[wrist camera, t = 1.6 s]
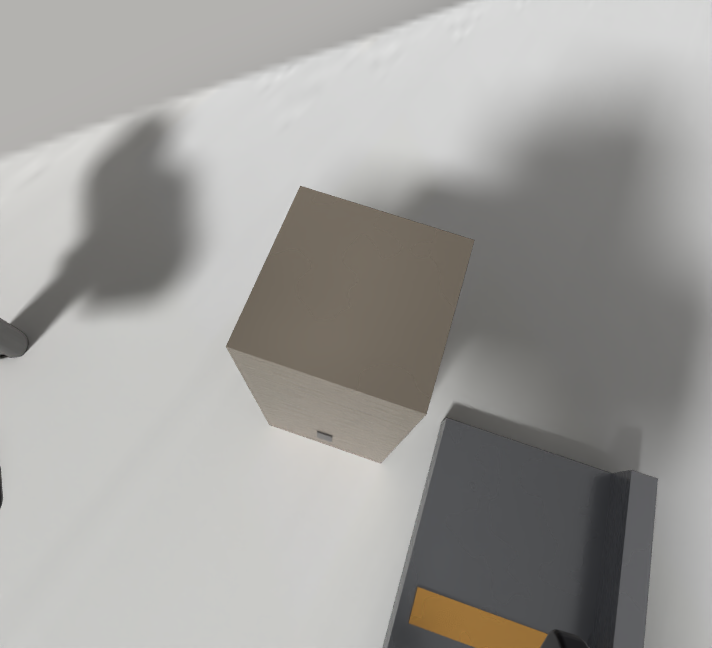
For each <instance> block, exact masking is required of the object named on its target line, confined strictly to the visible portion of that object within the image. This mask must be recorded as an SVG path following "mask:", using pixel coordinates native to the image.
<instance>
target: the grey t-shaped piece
mask: <svg viewBox="0 0 712 648" xmlns="http://www.w3.org/2000/svg"><path fill="white" fill-rule="evenodd" d="M27 345H28V339H27V337H26V335H25V334H24V333H23V332H22V331H20V330H18V329H17V328H15V327H14V326H12V325H11V324H9V323H7V322H6V321H4V320H3V319H1V318H0V355H1V354H4V355H6V356H8V357H10V358H14V357H19V356H22V355H23V354H24V352H25V351H26V349H27Z"/></svg>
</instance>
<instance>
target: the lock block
mask: <svg viewBox="0 0 712 648" xmlns="http://www.w3.org/2000/svg"><path fill="white" fill-rule="evenodd" d="M473 243H474V240H472V239H469V238H466V237H463V236H460V235H456V234H453V233H450V232H447V231H444V230H440V229H437V228H434V227H431V226H428V225H424V224H421V223H418V222H415V221H411V220H408V219H405V218H402V217H399V216H395V215H392V214H389V213H386V212H383V211H379V210H376V209H373V208H370V207H367V206H363V205H360V204H357V203H354V202H350V201H347V200H344V199H341V198H338V197H334V196H331V195H328V194H325V193H322V192H318V191H315V190H312V189H309V188H306V187H302V186H300V188H299V190H298V192H297V194H296V196H295V199H294V201H293V203H292V205H291V207H290V209H289V211H288V214H287V216H286V218H285V220H284V222H283V224H282V227H281V229H280V231H279V233H278V235H277V237H276V240H275V242H274V244H273V246H272V248H271V250H270V253H269V255H268V257H267V259H266V261H265V263H264V265H263V268H262V270H261V272H260V274H259V276H258V278H257V281H256V283H255V285H254V287H253V289H252V291H251V294H250V296H249V298H248V300H247V302H246V304H245V306H244V309H243V311H242V313H241V315H240V317H239V319H238V322H237V324H236V326H235V328H234V330H233V332H232V335H231V337H230V339H229V341H228V343H227V345H226V348H227V349H228V351H229V353H230V355H231V357H232V358H233V360H234V362H235V364H236V366H237V367H238V369H239V371H240V373H241V375H242V376H243V378H244V380H245V382H246V384H247V385H248V387H249V389H250V391H251V393H252V394H253V396H254V398H255V400H256V402H257V403H258V405H259V407H260V409H261V411H262V412H263V414H264V416H265V418H266V420H267V421H268V423H269V425H272V426H274V427H277V428H280V429H283V430H286V431H289V432H292V433H295V434H297V435H300V436H303V437H306V438H309V439H312V440H315V441H318V442H320V443H323V444H326V445H329V446H332V447H335V448H338V449H341V450H344V451H346V452H349V453H352V454H355V455H358V456H361V457H364V458H367V459H369V460H372V461H375V462H378V463H382V462H383V461H384V460H385V458H386V457H387V456H388V455H389V454H390V453H391V452H392V451H393V450H394V449H395V448H396V447H397V446H398V444H399V443H400V442H401V441H402V440H403V439H404V438H405V437H406V436H407V435H408V434H409V433H410V432H411V430H412V429H413V428H414V427H415V426H416V425H417V424H418V423H419V422H420V421H421V420H422V419H423V418H424V416H425V415H426V414H427V410H428V407H429V403H430V399H431V396H432V392H433V389H434V385H435V381H436V378H437V374H438V370H439V367H440V363H441V360H442V356H443V352H444V349H445V345H446V341H447V338H448V334H449V331H450V327H451V323H452V320H453V316H454V312H455V309H456V305H457V302H458V298H459V294H460V291H461V287H462V283H463V280H464V276H465V273H466V269H467V265H468V262H469V258H470V254H471V251H472V247H473Z"/></svg>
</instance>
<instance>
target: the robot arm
mask: <svg viewBox="0 0 712 648" xmlns="http://www.w3.org/2000/svg"><path fill="white" fill-rule="evenodd" d="M2 501H3V492H2V478H1V467H0V508H1V505H2ZM540 648H589V647H588V645H587V644H586V643H585V641H584V640H583V639H582V638H581V637H579V636H577V635H575V634H571V633H568V632H565V631H561V630H558V629H554V630H552V631H550V632H549V634H548V635H547V637H546V639H545V640H544V642H543V644H542V645H541V647H540Z"/></svg>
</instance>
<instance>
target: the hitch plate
mask: <svg viewBox="0 0 712 648" xmlns="http://www.w3.org/2000/svg"><path fill="white" fill-rule="evenodd" d="M657 482H658V479H657V478H654V477H651V476H648V475H645V474H642V473H639V472H636V471H634V470H628V471H623V472H617V473H609V472H606V471H603V470H600V469H597V468H594V467H591V466H588V465H585V464H583V463H580V462H577V461H574V460H571V459H568V458H565V457H562V456H559V455H556V454H553V453H550V452H547V451H544V450H541V449H538V448H535V447H532V446H529V445H526V444H523V443H520V442H517V441H514V440H511V439H508V438H505V437H502V436H500V435H497V434H494V433H491V432H488V431H485V430H482V429H479V428H476V427H473V426H470V425H467V424H464V423H461V422H458V421H455V420H452V419H449V418H446V419H445V420H444V421H443V422H442V423H441V426H440V430H439V434H438V438H437V442H436V446H435V449H434V453H433V457H432V461H431V465H430V468H429V472H428V476H427V480H426V484H425V488H424V491H423V495H422V499H421V503H420V507H419V511H418V514H417V518H416V522H415V526H414V530H413V533H412V537H411V541H410V545H409V549H408V553H407V556H406V560H405V564H404V568H403V572H402V575H401V579H400V583H399V587H398V591H397V595H396V598H395V602H394V606H393V610H392V614H391V618H390V621H389V625H388V629H387V633H386V637H385V640H384V644H383V648H540V647H541V645H542V644H543V642H544V640H545V639H546V637H547V635H548V634H549V632H550V631H552V630H554V629H558V630H561V631H565V632H568V633H571V634H575V635H577V636H579V637H581V638H582V639H583V640H584V641H585V643H586V644H587V645H588V647H589V648H644V637H645V625H646V613H647V601H648V589H649V577H650V565H651V553H652V541H653V529H654V517H655V505H656V494H657Z"/></svg>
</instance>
